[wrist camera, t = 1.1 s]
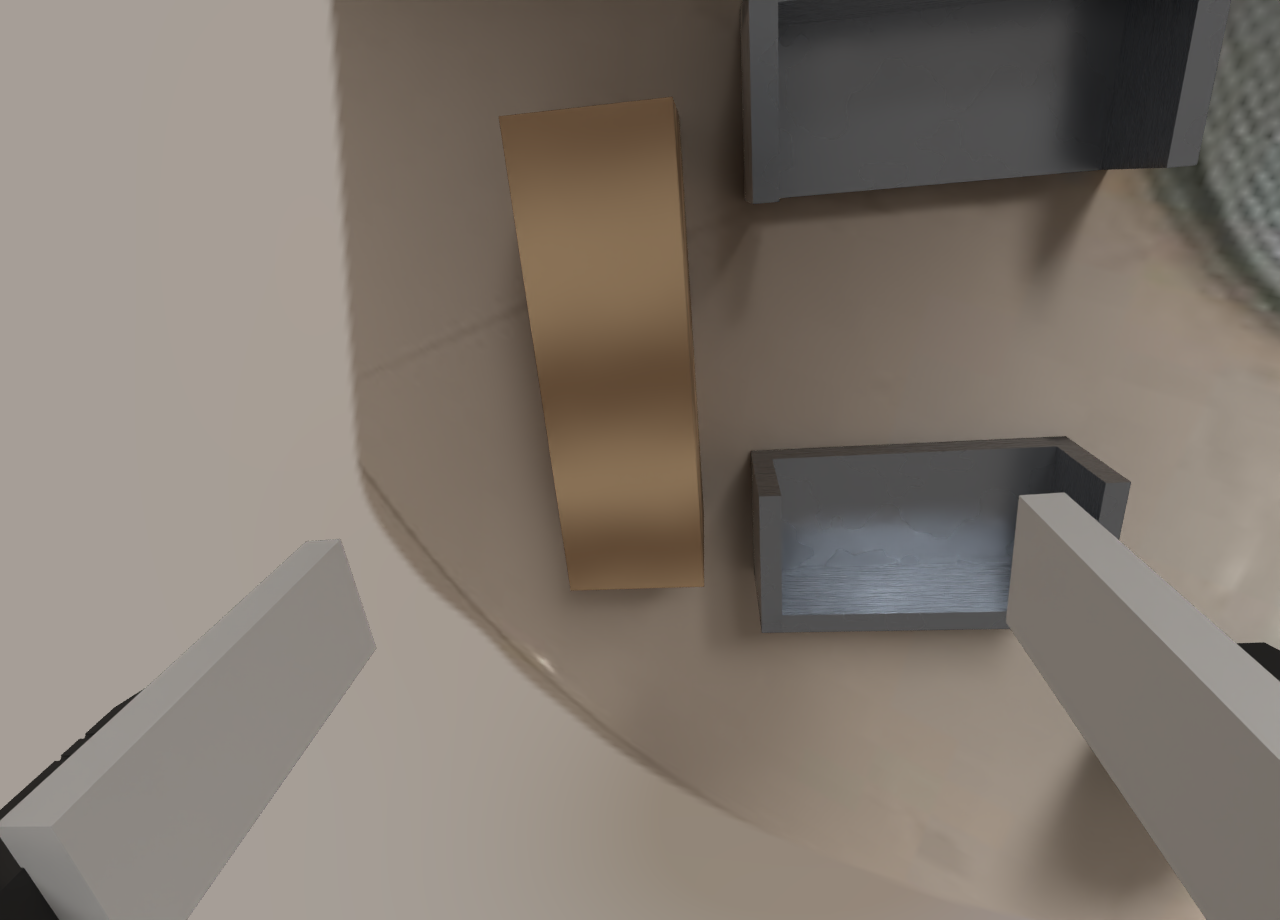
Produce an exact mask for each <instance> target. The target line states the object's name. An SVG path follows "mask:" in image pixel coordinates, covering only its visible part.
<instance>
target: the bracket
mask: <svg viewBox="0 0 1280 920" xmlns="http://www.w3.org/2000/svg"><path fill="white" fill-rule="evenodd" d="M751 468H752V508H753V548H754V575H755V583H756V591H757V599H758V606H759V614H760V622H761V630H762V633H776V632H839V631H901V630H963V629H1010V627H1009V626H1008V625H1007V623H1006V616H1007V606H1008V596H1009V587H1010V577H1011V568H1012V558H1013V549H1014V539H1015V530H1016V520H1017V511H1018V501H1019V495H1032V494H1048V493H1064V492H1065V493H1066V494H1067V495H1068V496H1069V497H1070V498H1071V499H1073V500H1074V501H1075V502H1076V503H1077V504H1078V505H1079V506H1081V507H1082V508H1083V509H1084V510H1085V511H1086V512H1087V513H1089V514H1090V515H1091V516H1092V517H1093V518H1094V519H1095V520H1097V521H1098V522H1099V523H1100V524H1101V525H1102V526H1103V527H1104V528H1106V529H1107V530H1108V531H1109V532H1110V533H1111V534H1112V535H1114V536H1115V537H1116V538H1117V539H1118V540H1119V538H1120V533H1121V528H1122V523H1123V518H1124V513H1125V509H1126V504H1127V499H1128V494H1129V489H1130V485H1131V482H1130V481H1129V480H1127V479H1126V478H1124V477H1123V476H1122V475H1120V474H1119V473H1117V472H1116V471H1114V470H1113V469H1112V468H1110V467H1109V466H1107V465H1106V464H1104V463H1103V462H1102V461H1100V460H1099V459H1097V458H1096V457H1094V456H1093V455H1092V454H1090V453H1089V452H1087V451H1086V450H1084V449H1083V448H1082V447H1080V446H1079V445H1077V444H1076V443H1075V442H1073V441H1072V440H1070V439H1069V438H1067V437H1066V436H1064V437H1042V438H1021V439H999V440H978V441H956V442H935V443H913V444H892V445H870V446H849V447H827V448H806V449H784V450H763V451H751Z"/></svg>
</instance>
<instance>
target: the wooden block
mask: <svg viewBox="0 0 1280 920" xmlns="http://www.w3.org/2000/svg"><path fill="white" fill-rule="evenodd" d="M499 122H500V129H501V135H502V142H503V148H504V155H505V162H506V168H507V175H508V181H509V188H510V194H511V201H512V208H513V214H514V221H515V227H516V234H517V241H518V247H519V254H520V260H521V267H522V273H523V280H524V287H525V293H526V300H527V306H528V313H529V319H530V326H531V333H532V339H533V346H534V352H535V359H536V366H537V372H538V379H539V385H540V392H541V398H542V405H543V412H544V418H545V425H546V431H547V438H548V445H549V451H550V458H551V464H552V471H553V477H554V484H555V491H556V497H557V504H558V510H559V517H560V523H561V530H562V537H563V543H564V550H565V556H566V563H567V570H568V576H569V583H570V589H571V591H572V590H606V589H639V588H673V587H704V510H703V494H702V478H701V462H700V446H699V430H698V413H697V397H696V381H695V365H694V349H693V332H692V316H691V300H690V284H689V268H688V251H687V235H686V219H685V203H684V187H683V171H682V154H681V138H680V122H679V114H678V111H677V108H676V105H675V103H674V100H673V97H665V98H656V99H648V100H639V101H630V102H621V103H612V104H604V105H595V106H586V107H577V108H568V109H559V110H551V111H542V112H533V113H524V114H515V115H507V116H499Z"/></svg>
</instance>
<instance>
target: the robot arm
mask: <svg viewBox="0 0 1280 920" xmlns="http://www.w3.org/2000/svg"><path fill="white" fill-rule="evenodd" d="M1006 623H1007V625H1008V626H1009V627H1010V629H1011V630H1012V632H1013V633H1014V635H1015V636H1016V638H1017V639H1018V641H1019V642H1020V644H1021V645H1022V647H1023V648H1024V650H1025V651H1026V653H1027V654H1028V656H1029V657H1030V659H1031V660H1032V662H1033V663H1034V665H1035V666H1036V668H1037V669H1038V670H1039V672H1040V673H1041V675H1042V676H1043V678H1044V679H1045V681H1046V682H1047V684H1048V685H1049V687H1050V688H1051V690H1052V691H1053V693H1054V694H1055V696H1056V697H1057V699H1058V700H1059V702H1060V703H1061V705H1062V706H1063V708H1064V709H1065V711H1066V712H1067V713H1068V715H1069V716H1070V718H1071V719H1072V721H1073V722H1074V724H1075V725H1076V727H1077V728H1078V730H1079V731H1080V733H1081V734H1082V736H1083V737H1084V739H1085V740H1086V742H1087V743H1088V745H1089V746H1090V748H1091V749H1092V751H1093V752H1094V754H1095V755H1096V756H1097V758H1098V759H1099V761H1100V762H1101V764H1102V765H1103V767H1104V768H1105V770H1106V771H1107V773H1108V774H1109V776H1110V777H1111V779H1112V780H1113V782H1114V783H1115V785H1116V786H1117V788H1118V789H1119V791H1120V792H1121V794H1122V795H1123V797H1124V798H1125V799H1126V801H1127V802H1128V804H1129V805H1130V807H1131V808H1132V810H1133V811H1134V813H1135V814H1136V816H1137V817H1138V819H1139V820H1140V822H1141V823H1142V825H1143V826H1144V828H1145V829H1146V831H1147V832H1148V834H1149V835H1150V837H1151V838H1152V840H1153V841H1154V843H1155V844H1156V845H1157V847H1158V848H1159V850H1160V851H1161V853H1162V854H1163V856H1164V857H1165V859H1166V860H1167V862H1168V863H1169V865H1170V866H1171V868H1172V869H1173V871H1174V872H1175V874H1176V875H1177V877H1178V878H1179V880H1180V881H1181V883H1182V884H1183V886H1184V887H1185V888H1186V890H1187V891H1188V893H1189V894H1190V896H1191V897H1192V899H1193V900H1194V902H1195V903H1196V905H1197V906H1198V908H1199V909H1200V911H1201V912H1202V914H1203V915H1204V917H1205V918H1206V920H1280V650H1278V649H1276V648H1274V647H1272V646H1270V645H1268V644H1266V643H1237V644H1236V643H1235V642H1234V641H1233V640H1232V639H1231V638H1230V637H1228V636H1227V635H1226V634H1225V633H1224V632H1223V631H1222V630H1221V629H1219V628H1218V627H1217V626H1216V625H1215V624H1214V623H1213V622H1211V621H1210V620H1209V619H1208V618H1207V617H1206V616H1205V615H1203V614H1202V613H1201V612H1200V611H1199V610H1198V609H1197V608H1195V607H1194V606H1193V605H1192V604H1191V603H1190V602H1189V601H1188V600H1186V599H1185V598H1184V597H1183V596H1182V595H1181V594H1180V593H1178V592H1177V591H1176V590H1175V589H1174V588H1173V587H1172V586H1170V585H1169V584H1168V583H1167V582H1166V581H1165V580H1164V579H1162V578H1161V577H1160V576H1159V575H1158V574H1157V573H1156V572H1155V571H1153V570H1152V569H1151V568H1150V567H1149V566H1148V565H1147V564H1145V563H1144V562H1143V561H1142V560H1141V559H1140V558H1139V557H1137V556H1136V555H1135V554H1134V553H1133V552H1132V551H1131V550H1130V549H1128V548H1127V547H1126V546H1125V545H1124V544H1123V543H1122V542H1120V541H1119V540H1118V539H1117V538H1116V537H1115V536H1114V535H1112V534H1111V533H1110V532H1109V531H1108V530H1107V529H1106V528H1104V527H1103V526H1102V525H1101V524H1100V523H1099V522H1098V521H1097V520H1095V519H1094V518H1093V517H1092V516H1091V515H1090V514H1089V513H1087V512H1086V511H1085V510H1084V509H1083V508H1082V507H1081V506H1079V505H1078V504H1077V503H1076V502H1075V501H1074V500H1073V499H1071V498H1070V497H1069V496H1068V495H1067V494H1066V493H1065V492H1064V493H1048V494H1032V495H1019V501H1018V511H1017V520H1016V530H1015V539H1014V549H1013V558H1012V568H1011V577H1010V587H1009V596H1008V606H1007V616H1006ZM375 650H376V645H375V642H374V639H373V636H372V633H371V630H370V627H369V624H368V621H367V618H366V615H365V612H364V609H363V606H362V602H361V600H360V596H359V593H358V590H357V587H356V584H355V581H354V578H353V575H352V572H351V569H350V566H349V563H348V560H347V557H346V554H345V551H344V548H343V545H342V542H341V539H335V540H320V541H306V542H305V543H304V544H303V545H302V546H300V547H299V548H298V549H297V550H296V551H295V552H294V553H293V554H292V555H291V556H290V557H289V558H287V559H286V560H285V561H284V562H283V563H282V564H281V565H280V566H279V567H277V568H276V569H275V570H274V571H273V572H272V573H271V574H270V575H269V576H268V577H266V578H265V579H264V580H263V581H262V582H261V583H260V584H259V585H258V586H257V587H256V588H255V589H253V590H252V591H251V592H250V593H249V594H248V595H247V596H246V597H245V598H243V599H242V600H241V601H240V602H239V603H238V604H237V605H236V606H235V607H234V608H233V609H231V610H230V611H229V612H228V613H227V614H226V615H225V616H224V617H223V618H222V619H221V620H219V621H218V622H217V623H216V624H215V625H214V626H213V627H212V628H211V629H210V630H209V631H207V633H205V634H204V635H203V636H202V637H201V638H200V639H199V640H198V641H196V642H195V643H194V644H193V645H192V646H191V647H190V648H189V649H188V650H186V651H185V652H184V653H183V654H182V655H181V656H180V657H179V658H178V659H177V660H176V661H174V662H173V663H172V664H171V665H170V666H169V667H168V668H167V669H166V670H165V671H164V672H162V673H161V674H160V675H159V676H158V677H157V678H156V679H155V680H154V681H153V682H152V683H150V684H149V685H148V686H147V687H146V688H145V689H143V690H141V691H140V692H139V693H137V694H135V695H133V696H132V697H130V698H129V699H127V700H126V701H124V702H123V703H121V704H119V705H118V706H116V707H115V708H113V709H112V710H111V711H110V712H109V713H108V714H107V715H106V716H104V717H103V718H102V719H101V720H100V721H99V722H98V723H97V724H96V725H95V726H93V727H92V728H91V729H90V730H89V731H88V732H87V733H86V736H85V738H84V739H79V740H78V741H77V742H75V744H74V745H72V746H71V747H70V748H69V749H68V750H67V751H66V752H64V753H63V754H62V755H61V760H60V761H54V762H53V763H52V764H51V765H50V766H49V767H48V768H47V769H45V770H44V771H43V772H42V773H41V774H40V775H39V776H38V777H37V778H35V779H34V780H33V781H32V782H31V783H30V784H29V785H28V786H26V787H25V788H24V789H23V790H22V791H21V792H20V793H19V794H18V795H16V796H15V797H14V798H13V799H12V800H11V801H10V802H9V803H8V804H7V805H5V806H4V807H3V808H2V809H1V810H0V920H187V919H188V917H189V916H190V915H191V913H192V912H193V910H194V909H195V907H196V906H197V905H198V903H199V902H200V900H201V899H202V897H203V896H204V895H205V893H206V892H207V890H208V889H209V887H210V886H211V884H212V883H213V882H214V880H215V879H216V877H217V876H218V874H219V873H220V872H221V870H222V869H223V867H224V866H225V864H226V863H227V862H228V860H229V858H230V857H231V856H232V854H233V853H234V852H235V850H236V849H237V847H238V846H239V844H240V843H241V841H242V840H243V839H244V837H245V836H246V834H247V833H248V832H249V830H250V829H251V827H252V826H253V824H254V823H255V821H256V820H257V819H258V817H259V816H260V814H261V813H262V811H263V810H264V809H265V807H266V806H267V804H268V803H269V801H270V800H271V799H272V797H273V796H274V794H275V793H276V791H277V790H278V788H279V787H280V786H281V784H282V783H283V781H284V780H285V779H286V777H287V775H288V774H289V773H290V771H291V770H292V768H293V767H294V766H295V764H296V763H297V761H298V760H299V758H300V757H301V756H302V754H303V752H304V751H305V750H306V748H307V747H308V745H309V744H310V743H311V741H312V740H313V738H314V737H315V736H316V734H317V732H318V731H319V730H320V728H321V727H322V725H323V724H324V722H325V721H326V720H327V718H328V717H329V716H330V714H331V713H332V711H333V710H334V708H335V707H336V705H337V704H338V703H339V701H340V700H341V698H342V697H343V695H344V694H345V692H346V691H347V690H348V688H349V687H350V685H351V684H352V682H353V681H354V679H355V678H356V677H357V675H358V674H359V672H360V671H361V670H362V668H363V667H364V665H365V664H366V662H367V661H368V660H369V658H370V657H371V655H372V654H373V652H374V651H375Z"/></svg>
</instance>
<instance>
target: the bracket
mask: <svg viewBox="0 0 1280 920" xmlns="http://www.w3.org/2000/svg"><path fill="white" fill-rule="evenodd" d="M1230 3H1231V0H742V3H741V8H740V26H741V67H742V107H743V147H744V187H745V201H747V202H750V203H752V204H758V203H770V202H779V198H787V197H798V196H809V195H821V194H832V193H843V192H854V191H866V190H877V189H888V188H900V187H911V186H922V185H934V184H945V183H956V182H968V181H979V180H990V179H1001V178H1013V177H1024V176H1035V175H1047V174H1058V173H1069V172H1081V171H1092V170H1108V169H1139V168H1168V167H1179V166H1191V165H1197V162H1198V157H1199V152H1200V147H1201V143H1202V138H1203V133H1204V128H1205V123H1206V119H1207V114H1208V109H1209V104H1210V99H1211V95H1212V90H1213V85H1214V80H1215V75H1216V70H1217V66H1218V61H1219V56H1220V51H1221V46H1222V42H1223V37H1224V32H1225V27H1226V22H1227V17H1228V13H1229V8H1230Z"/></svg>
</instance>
